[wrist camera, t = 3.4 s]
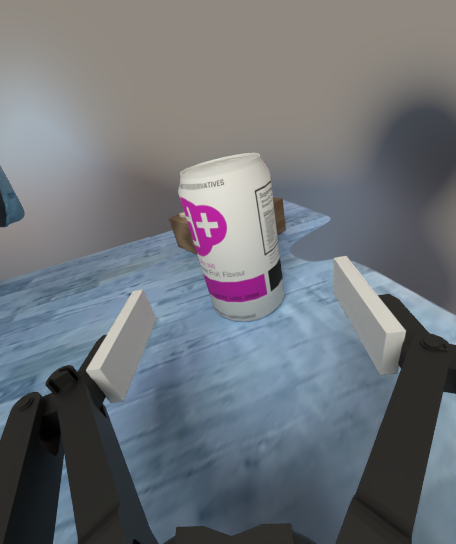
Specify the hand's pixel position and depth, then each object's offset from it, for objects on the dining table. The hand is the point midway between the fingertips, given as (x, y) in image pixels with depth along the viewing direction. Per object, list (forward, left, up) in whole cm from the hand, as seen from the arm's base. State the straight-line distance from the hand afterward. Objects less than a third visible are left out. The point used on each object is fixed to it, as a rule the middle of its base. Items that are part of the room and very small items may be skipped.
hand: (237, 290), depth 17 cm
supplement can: (-7, +6, -8) cm, 12 cm away
